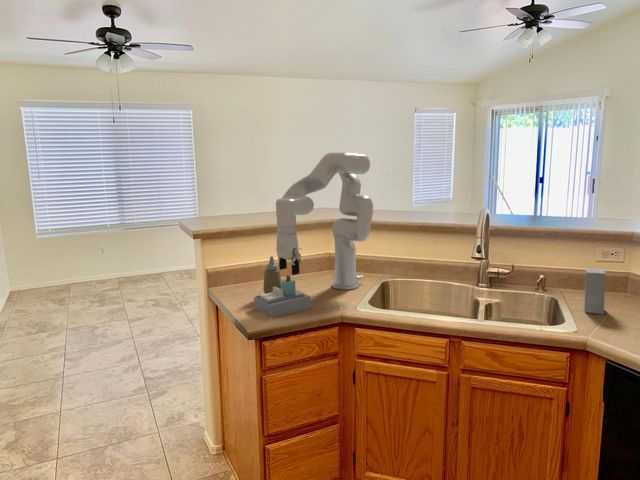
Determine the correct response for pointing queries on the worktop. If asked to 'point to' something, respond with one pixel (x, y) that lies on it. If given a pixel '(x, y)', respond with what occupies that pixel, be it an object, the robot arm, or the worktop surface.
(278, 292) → the shutter
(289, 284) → the teal rectangular bottle
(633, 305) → the worktop surface
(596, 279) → the skincare box
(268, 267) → the squeeze bottle
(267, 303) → the grey flat box
